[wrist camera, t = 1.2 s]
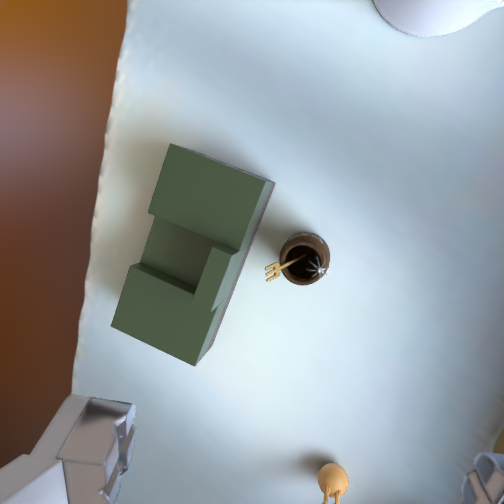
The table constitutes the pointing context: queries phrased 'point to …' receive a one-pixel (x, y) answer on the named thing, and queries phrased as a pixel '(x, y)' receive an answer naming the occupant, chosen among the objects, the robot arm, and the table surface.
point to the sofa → (191, 253)
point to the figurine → (332, 481)
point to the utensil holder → (302, 259)
